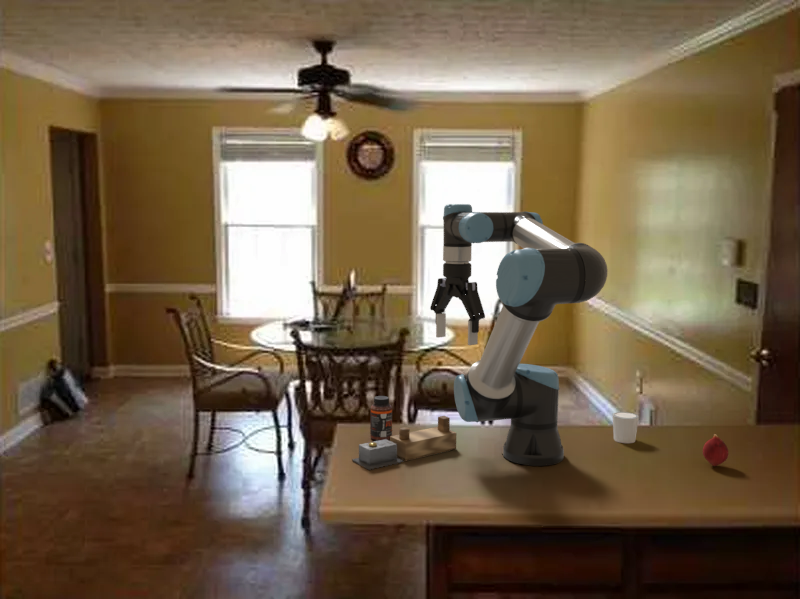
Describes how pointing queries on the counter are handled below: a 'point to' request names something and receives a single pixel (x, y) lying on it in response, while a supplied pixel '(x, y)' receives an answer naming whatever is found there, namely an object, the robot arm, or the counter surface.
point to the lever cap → (377, 452)
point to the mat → (376, 464)
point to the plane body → (425, 440)
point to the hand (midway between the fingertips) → (456, 340)
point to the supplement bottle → (381, 418)
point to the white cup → (625, 427)
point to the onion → (715, 451)
